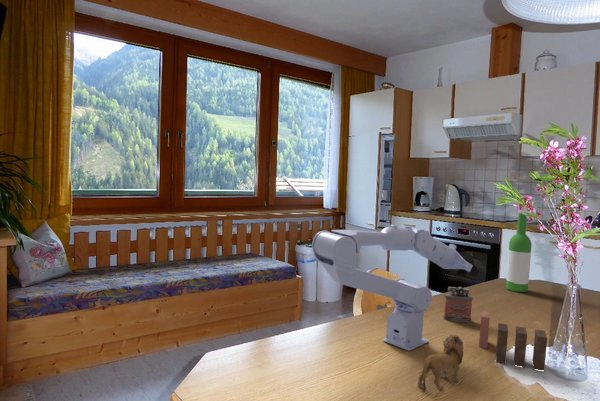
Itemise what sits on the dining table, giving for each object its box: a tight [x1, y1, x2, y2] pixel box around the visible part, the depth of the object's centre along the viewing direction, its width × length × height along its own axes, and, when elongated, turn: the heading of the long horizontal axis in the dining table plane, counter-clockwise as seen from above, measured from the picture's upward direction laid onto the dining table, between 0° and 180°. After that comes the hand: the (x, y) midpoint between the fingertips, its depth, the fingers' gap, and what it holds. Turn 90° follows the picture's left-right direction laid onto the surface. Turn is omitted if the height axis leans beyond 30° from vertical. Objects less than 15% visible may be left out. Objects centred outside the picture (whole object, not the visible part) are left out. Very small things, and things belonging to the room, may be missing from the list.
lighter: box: [442, 286, 474, 323], centre depth 133 cm, size 8×3×10 cm, turn 84°
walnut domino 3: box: [532, 328, 548, 371], centre depth 102 cm, size 2×5×8 cm, turn 157°
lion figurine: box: [417, 333, 464, 393], centre depth 92 cm, size 15×5×9 cm, turn 137°
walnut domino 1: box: [495, 322, 509, 365], centre depth 105 cm, size 2×5×8 cm, turn 157°
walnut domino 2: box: [513, 325, 528, 368], centre depth 104 cm, size 2×5×8 cm, turn 156°
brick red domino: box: [478, 310, 491, 349], centre depth 114 cm, size 2×5×8 cm, turn 157°
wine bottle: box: [505, 212, 532, 293], centre depth 169 cm, size 8×8×30 cm
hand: (466, 268), depth 124 cm, fingers open, 7 cm apart
